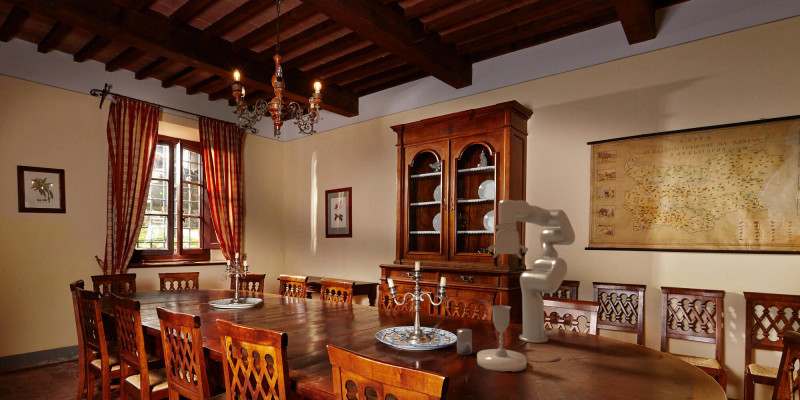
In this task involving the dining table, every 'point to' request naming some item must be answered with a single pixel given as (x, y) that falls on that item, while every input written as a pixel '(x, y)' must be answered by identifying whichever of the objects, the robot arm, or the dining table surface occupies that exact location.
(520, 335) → the robot arm
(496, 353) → the chalice
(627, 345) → the dining table surface
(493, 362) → the stand
